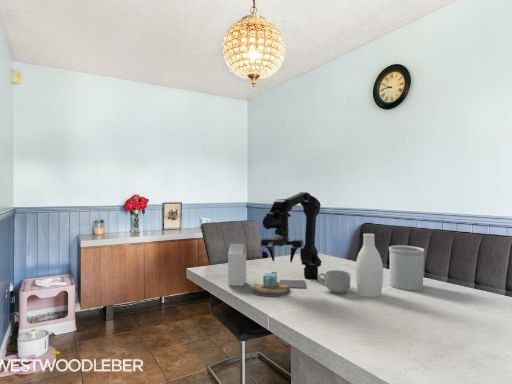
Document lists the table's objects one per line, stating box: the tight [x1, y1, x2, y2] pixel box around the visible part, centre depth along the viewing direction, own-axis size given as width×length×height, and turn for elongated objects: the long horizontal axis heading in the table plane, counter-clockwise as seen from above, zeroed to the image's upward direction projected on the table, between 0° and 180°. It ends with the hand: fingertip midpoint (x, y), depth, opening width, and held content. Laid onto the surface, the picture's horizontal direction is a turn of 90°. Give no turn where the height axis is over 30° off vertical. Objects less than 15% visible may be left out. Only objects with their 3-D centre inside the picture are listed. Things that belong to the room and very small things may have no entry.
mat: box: [279, 279, 307, 289], centre depth 152 cm, size 12×12×1 cm
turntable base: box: [250, 287, 291, 297], centre depth 143 cm, size 17×17×1 cm
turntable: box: [251, 271, 288, 294], centre depth 143 cm, size 16×16×5 cm
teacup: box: [317, 269, 352, 294], centre depth 142 cm, size 14×11×8 cm
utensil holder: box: [388, 245, 426, 291], centre depth 148 cm, size 15×15×18 cm
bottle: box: [355, 233, 384, 299], centre depth 136 cm, size 11×11×25 cm
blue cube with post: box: [262, 272, 278, 288], centre depth 142 cm, size 8×5×5 cm, turn 163°
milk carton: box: [227, 243, 247, 287], centre depth 153 cm, size 7×7×19 cm
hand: (282, 261), depth 146 cm, fingers open, 8 cm apart
